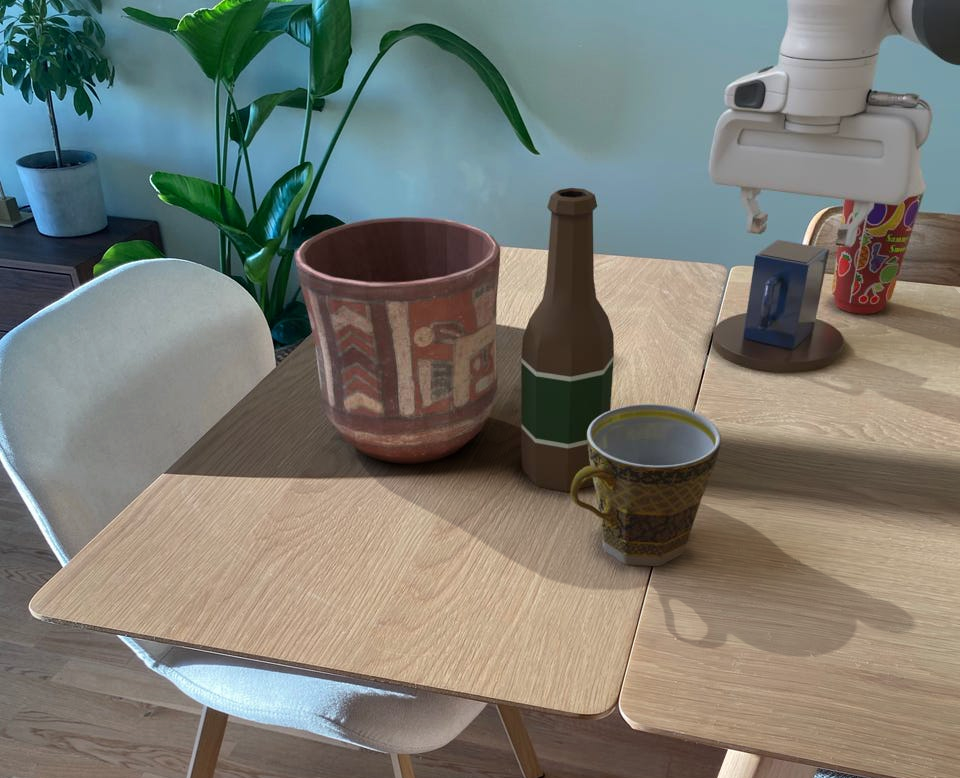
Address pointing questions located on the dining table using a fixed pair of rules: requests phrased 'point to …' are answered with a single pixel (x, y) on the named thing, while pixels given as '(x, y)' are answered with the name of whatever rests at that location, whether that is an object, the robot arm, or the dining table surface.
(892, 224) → the smoothie
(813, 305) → the mug
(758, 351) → the coaster
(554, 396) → the beer bottle
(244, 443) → the dining table surface
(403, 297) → the pottery
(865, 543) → the dining table surface
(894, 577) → the dining table surface
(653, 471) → the ceramic cup
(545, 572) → the dining table surface
